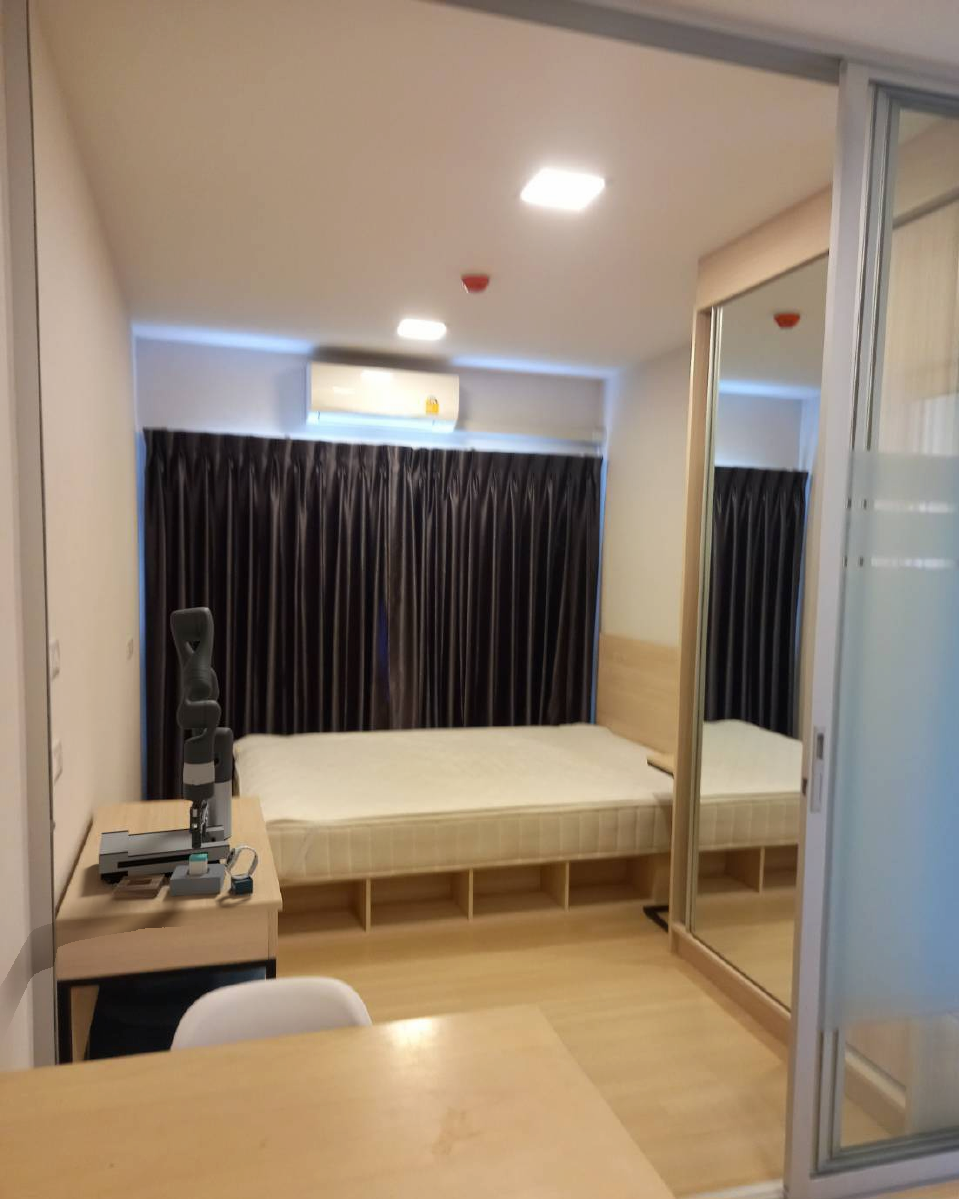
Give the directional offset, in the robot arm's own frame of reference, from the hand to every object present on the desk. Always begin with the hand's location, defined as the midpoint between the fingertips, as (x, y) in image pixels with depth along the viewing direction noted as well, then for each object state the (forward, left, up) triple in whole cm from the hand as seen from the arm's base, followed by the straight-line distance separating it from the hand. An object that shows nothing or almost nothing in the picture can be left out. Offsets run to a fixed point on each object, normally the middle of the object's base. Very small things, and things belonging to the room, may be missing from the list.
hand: (199, 842), depth 208 cm
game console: (-17, -11, -12) cm, 24 cm away
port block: (0, 0, -11) cm, 11 cm away
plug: (0, 0, -11) cm, 11 cm away
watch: (+4, +11, -12) cm, 16 cm away
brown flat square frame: (0, -14, -11) cm, 18 cm away
